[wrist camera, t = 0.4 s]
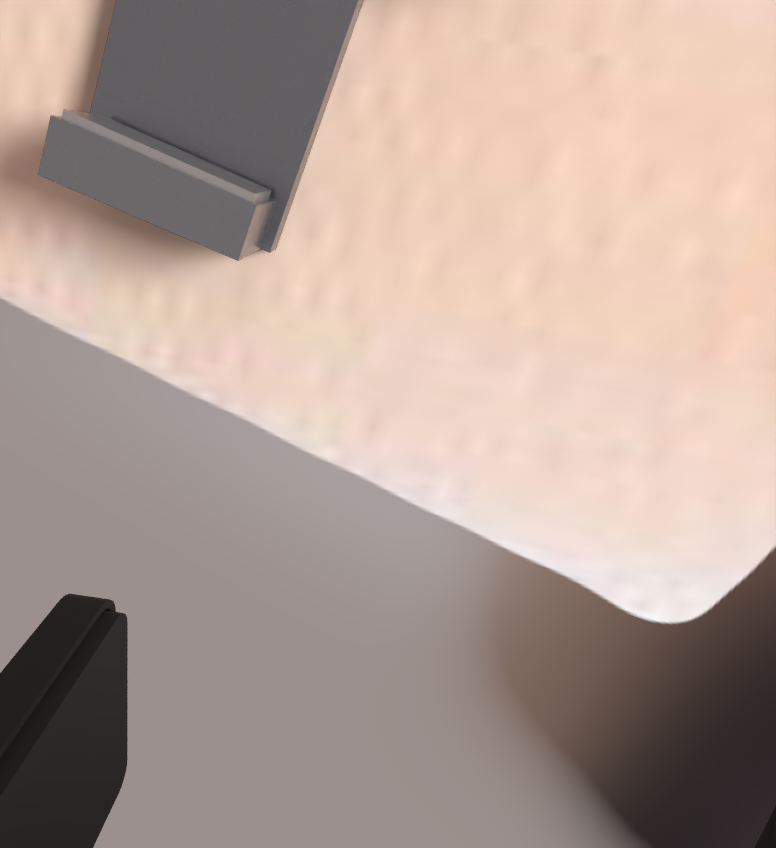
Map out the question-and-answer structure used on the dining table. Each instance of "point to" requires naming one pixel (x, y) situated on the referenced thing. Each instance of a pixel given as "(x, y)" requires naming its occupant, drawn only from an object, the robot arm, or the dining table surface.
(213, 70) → the vise bed
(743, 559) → the dining table surface
